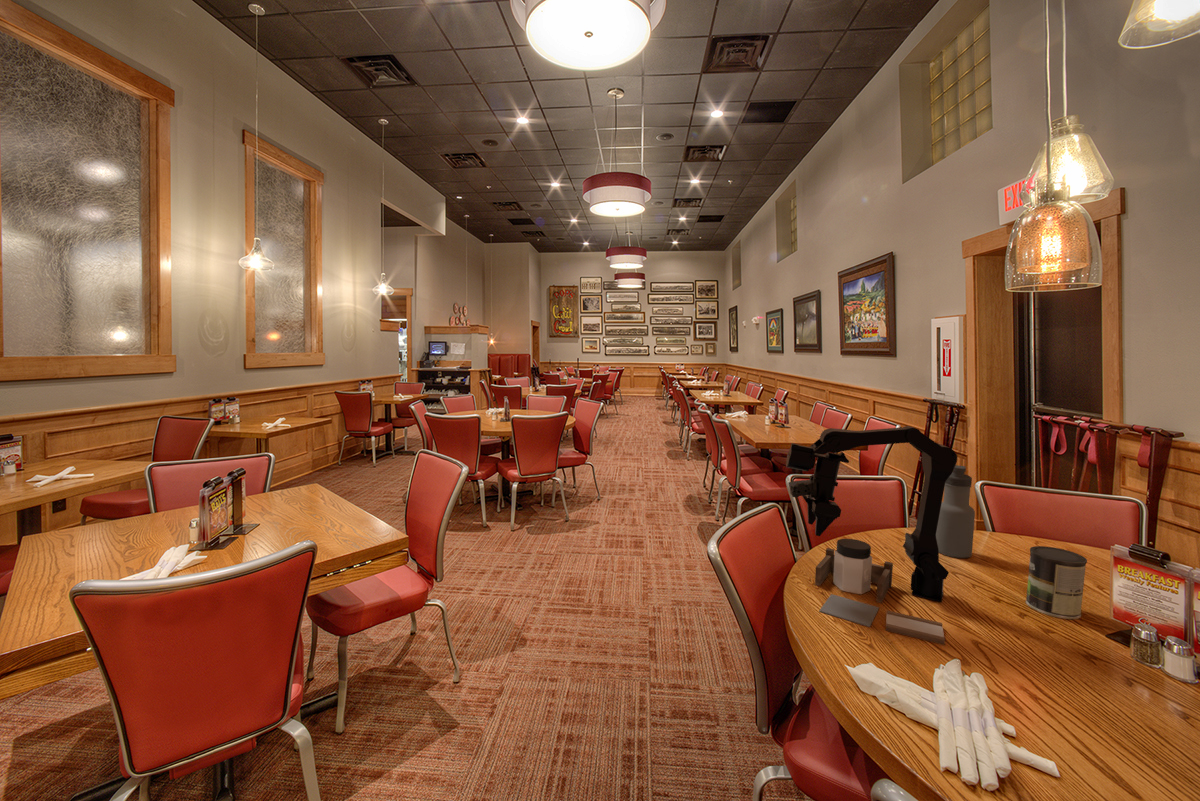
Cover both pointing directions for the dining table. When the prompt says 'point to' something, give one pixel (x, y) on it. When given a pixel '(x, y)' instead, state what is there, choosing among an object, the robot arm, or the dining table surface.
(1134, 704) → the dining table surface
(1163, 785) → the dining table surface
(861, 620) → the bench mat
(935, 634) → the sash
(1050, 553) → the coffee can
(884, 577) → the brown u-shaped frame
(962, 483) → the water bottle
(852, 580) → the jar
